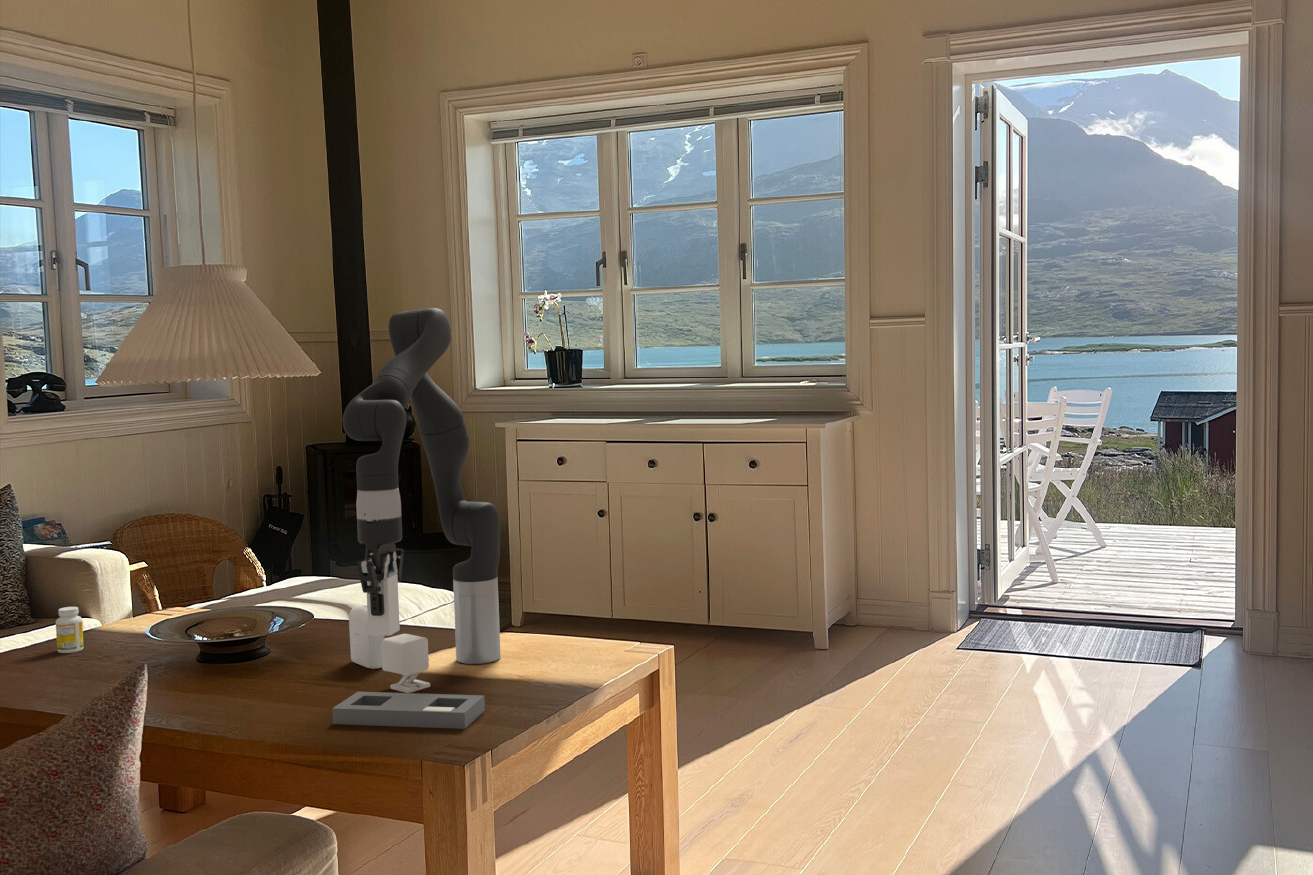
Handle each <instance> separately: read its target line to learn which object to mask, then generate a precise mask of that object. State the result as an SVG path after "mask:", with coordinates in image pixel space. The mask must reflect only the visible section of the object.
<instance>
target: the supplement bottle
mask: <svg viewBox="0 0 1313 875" xmlns="http://www.w3.org/2000/svg"><path fill="white" fill-rule="evenodd" d="M57 611H58V616H59V617H58V618H57V619H56V620H55V633H56V635H55V636H56V648H57V650H56V651H57V652H58V653H60V654H70V653H71V654H72V653H73V654H74V653H77V652H81V651H82V650H83V649H85V648H84V627H83V618H82V617H81V616H79V613H80V612H79V611H80V610H79V607H77V606H66V607H61V608H59V609H58V610H57Z"/></svg>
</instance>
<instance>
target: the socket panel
mask: <svg viewBox="0 0 1313 875" xmlns="http://www.w3.org/2000/svg"><path fill="white" fill-rule="evenodd" d="M485 702H486V701H485V695H481V694H480V695H479V694H478V695H477V694H448V693H447V694H446V693H445V694H443V693H418V692H417V693H416V692H415V693H414V692H411V693H405V692H381V691H379V692H378V691H356V692H355V693H354V694H352V695H350V696H349V697H347V698H346V699H345V700H342V701H341V702H340V703H338V704H336V705H335V706H333V707H332V708H331V710H332V712H331V713H332V725H346V726H348V725H350V726H353V725H354V726H372V727H373V726H377V727H378V726H379V727H380V726H381V727H404V728H405V727H406V728H407V727H409V728H427V729H428V728H432V729H433V728H434V729H458V730H460V729H462V730H463V729H464V730H465V729H466V728H468V727H469V726H470V725H471V724H472V723H473V722H474V721H476V719H477V718H479V717H480V716H481V715H482V714H483V713H484V712H485V710H486V706H485V705H486V704H485Z"/></svg>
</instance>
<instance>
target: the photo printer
mask: <svg viewBox="0 0 1313 875" xmlns="http://www.w3.org/2000/svg"><path fill="white" fill-rule="evenodd" d="M348 625H349V644H350V645H349V646H350V647H349V648H350V660H351V662H352V663H354V664H357V665H359V666H362V667H365V668H367V669H371V670H376V669H383V668H382V646H381V642H382V640H383V639H385V635H369V634H368V612H367V604H362V605H357V606H354V607H352V608H351V609H350V611H349V614H348Z"/></svg>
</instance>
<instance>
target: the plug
mask: <svg viewBox="0 0 1313 875" xmlns="http://www.w3.org/2000/svg"><path fill="white" fill-rule="evenodd" d="M380 575H381V574H376V576H380ZM377 582H378V583H379V581H378V580H377ZM367 585H368V581H367ZM383 594H384V614H383V615H382V616H373V615H371V603H370V594H368V593H366V605H367V612H368V634H369V635H385V636H387V637H388V636H389V637H390V636H392V635H394V634H396V633H397V632H399V631H400V630H401V629H400V626H401V625H400V605H399V601H400V600H399V582H398V577H397V574H395V571H389V572H387V578H386V580H385V581H384V590H383Z"/></svg>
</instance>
